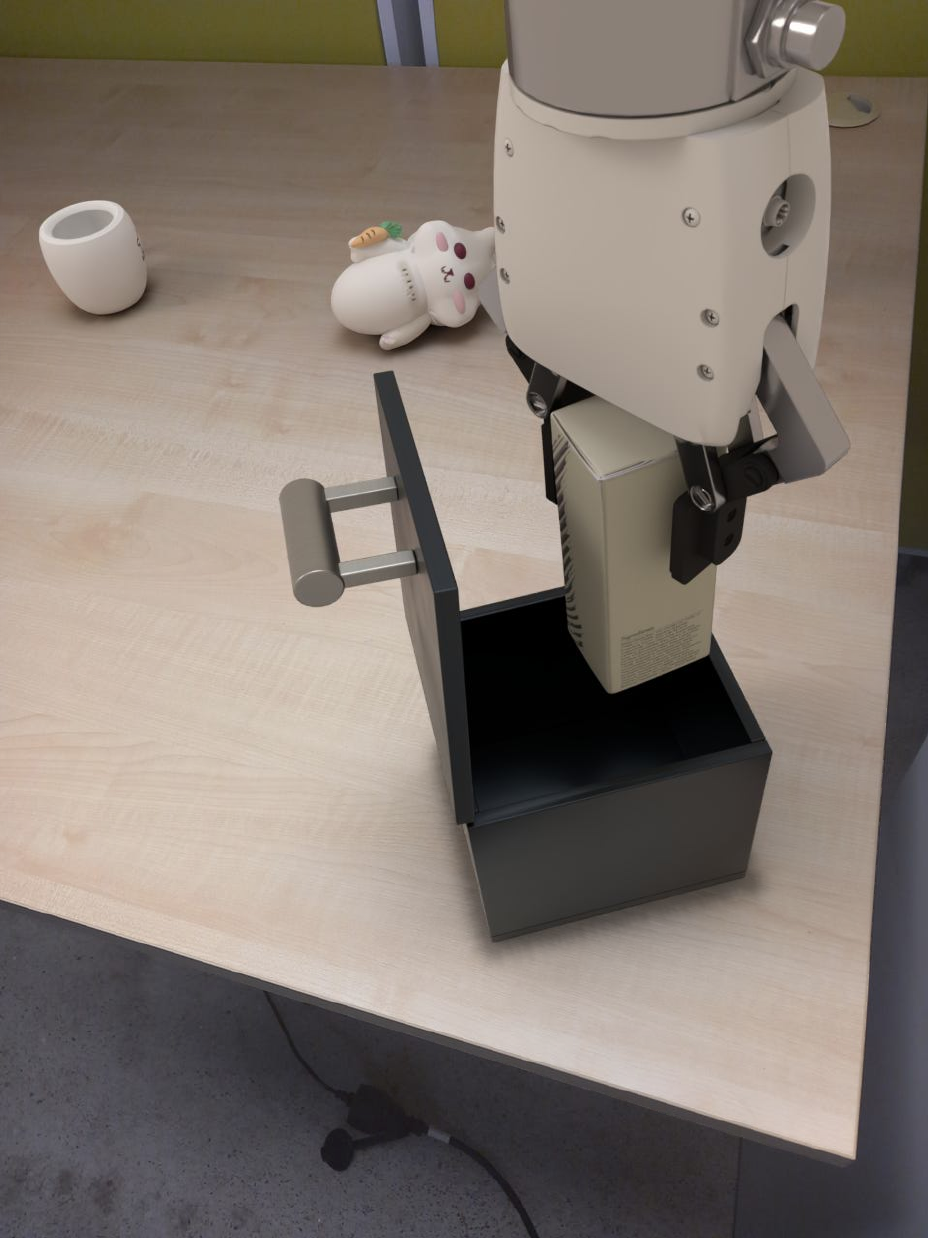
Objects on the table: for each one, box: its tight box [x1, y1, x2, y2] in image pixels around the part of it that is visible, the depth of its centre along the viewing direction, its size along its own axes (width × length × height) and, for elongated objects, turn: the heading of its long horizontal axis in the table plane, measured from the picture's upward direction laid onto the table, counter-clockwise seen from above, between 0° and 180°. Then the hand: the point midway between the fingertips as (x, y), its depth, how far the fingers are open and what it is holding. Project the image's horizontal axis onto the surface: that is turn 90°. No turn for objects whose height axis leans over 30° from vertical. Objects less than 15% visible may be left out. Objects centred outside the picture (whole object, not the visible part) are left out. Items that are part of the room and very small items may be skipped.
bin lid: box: [278, 370, 475, 826], centre depth 41 cm, size 14×12×5 cm
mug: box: [38, 199, 148, 316], centre depth 94 cm, size 12×8×8 cm
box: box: [551, 395, 728, 694], centre depth 41 cm, size 5×4×13 cm
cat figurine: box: [330, 219, 496, 351], centre depth 85 cm, size 10×8×15 cm
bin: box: [460, 585, 773, 943], centre depth 51 cm, size 13×12×12 cm
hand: (638, 518), depth 40 cm, fingers closed on box, 5 cm apart
